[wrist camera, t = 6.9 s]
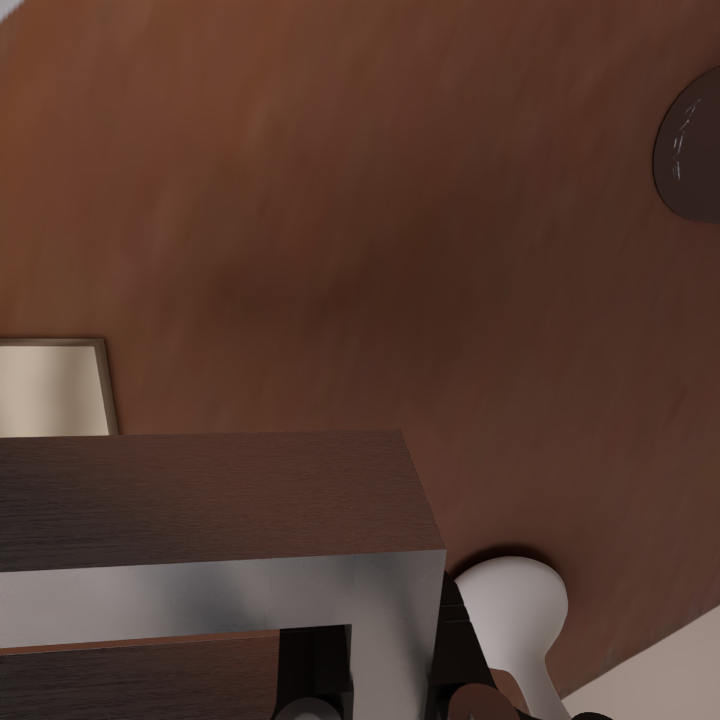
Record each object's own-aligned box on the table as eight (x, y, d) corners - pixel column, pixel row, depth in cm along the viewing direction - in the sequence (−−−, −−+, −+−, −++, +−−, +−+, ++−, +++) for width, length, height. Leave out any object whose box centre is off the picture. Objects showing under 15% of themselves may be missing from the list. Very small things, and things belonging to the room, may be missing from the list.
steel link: (400, 429, 12) (446, 549, 8) (382, 664, 14) (410, 835, 11) (-268, 443, 10) (-611, 604, 6) (-139, 706, 13) (-321, 924, 9)
